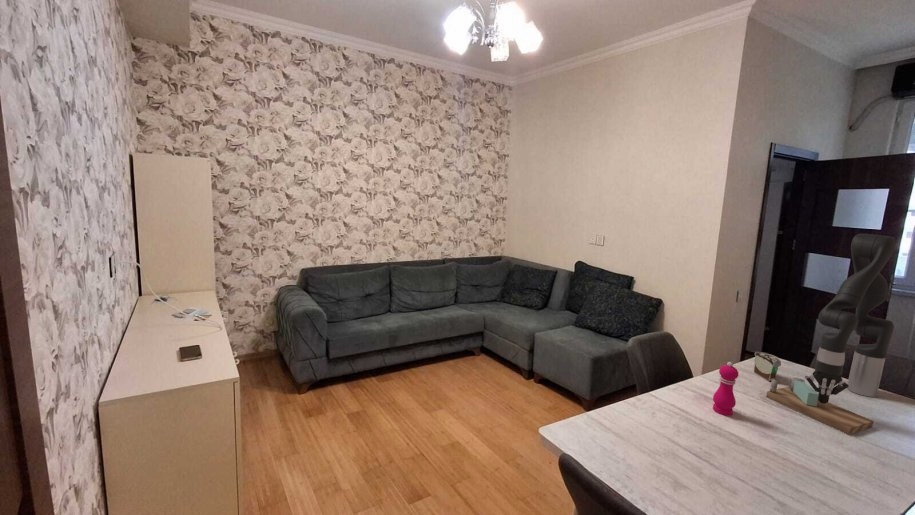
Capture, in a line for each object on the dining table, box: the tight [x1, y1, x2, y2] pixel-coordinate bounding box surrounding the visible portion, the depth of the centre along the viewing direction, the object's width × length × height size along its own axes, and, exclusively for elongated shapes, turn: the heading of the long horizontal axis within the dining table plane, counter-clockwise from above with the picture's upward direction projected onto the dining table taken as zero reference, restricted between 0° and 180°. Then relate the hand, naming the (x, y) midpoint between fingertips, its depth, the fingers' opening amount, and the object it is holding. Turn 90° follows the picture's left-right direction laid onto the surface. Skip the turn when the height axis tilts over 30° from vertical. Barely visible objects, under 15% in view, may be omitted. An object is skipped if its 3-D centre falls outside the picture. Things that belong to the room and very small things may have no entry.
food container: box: [753, 351, 782, 383], centre depth 182 cm, size 12×6×10 cm, turn 179°
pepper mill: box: [712, 361, 739, 417], centre depth 150 cm, size 7×7×20 cm
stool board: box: [765, 379, 875, 436], centre depth 154 cm, size 15×27×8 cm, turn 21°
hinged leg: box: [790, 377, 819, 406], centre depth 159 cm, size 14×4×5 cm, turn 161°
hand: (822, 402), depth 154 cm, fingers closed
